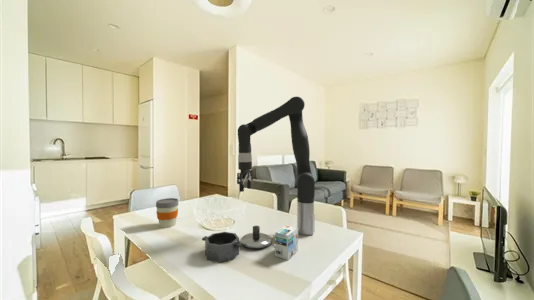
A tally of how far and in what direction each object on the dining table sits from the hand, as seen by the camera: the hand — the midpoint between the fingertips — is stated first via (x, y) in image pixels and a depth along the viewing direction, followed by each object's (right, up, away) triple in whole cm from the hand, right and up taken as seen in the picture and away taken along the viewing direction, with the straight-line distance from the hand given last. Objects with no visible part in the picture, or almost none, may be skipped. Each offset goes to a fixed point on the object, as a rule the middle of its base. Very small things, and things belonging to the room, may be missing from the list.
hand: (245, 189), depth 124 cm
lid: (+6, -24, -13) cm, 28 cm away
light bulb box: (+21, -25, -23) cm, 40 cm away
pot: (-8, -25, -24) cm, 35 cm away
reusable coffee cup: (-48, -24, +11) cm, 55 cm away
